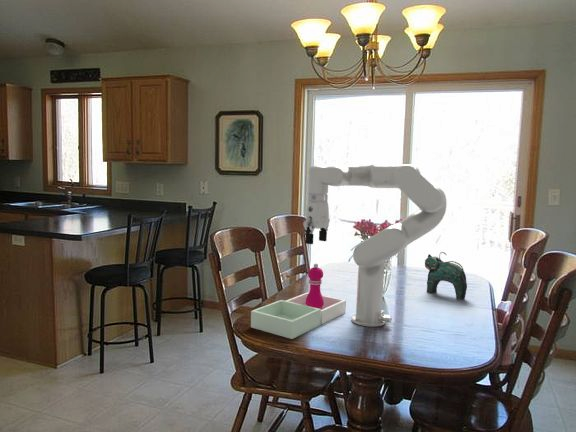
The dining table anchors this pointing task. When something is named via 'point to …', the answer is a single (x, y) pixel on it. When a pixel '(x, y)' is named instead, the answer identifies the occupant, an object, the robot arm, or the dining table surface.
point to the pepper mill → (315, 288)
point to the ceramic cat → (445, 275)
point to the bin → (285, 318)
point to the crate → (325, 306)
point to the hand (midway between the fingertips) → (316, 242)
